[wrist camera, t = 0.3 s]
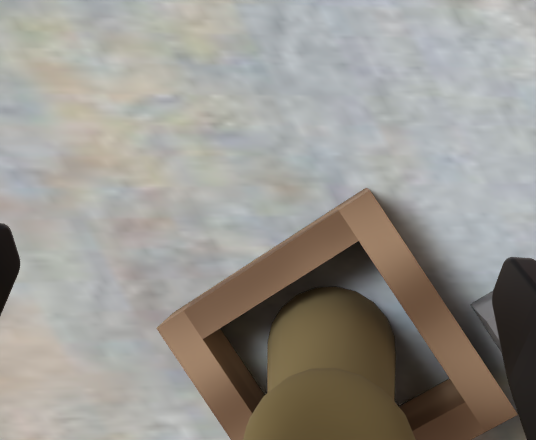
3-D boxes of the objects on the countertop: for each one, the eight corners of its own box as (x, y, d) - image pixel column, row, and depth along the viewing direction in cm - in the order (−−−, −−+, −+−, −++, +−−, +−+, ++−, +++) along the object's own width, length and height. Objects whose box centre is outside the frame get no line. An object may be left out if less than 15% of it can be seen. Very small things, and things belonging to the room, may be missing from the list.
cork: (379, 274, 23) (419, 366, 13) (408, 397, 24) (471, 591, 13) (254, 300, 24) (189, 408, 13) (284, 419, 25) (245, 617, 14)
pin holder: (498, 388, 23) (517, 414, 21) (298, 497, 25) (294, 533, 23) (366, 187, 23) (369, 190, 21) (174, 312, 25) (156, 328, 22)
